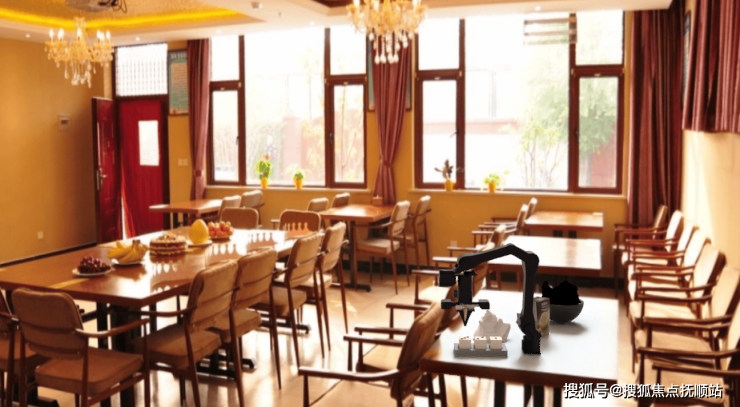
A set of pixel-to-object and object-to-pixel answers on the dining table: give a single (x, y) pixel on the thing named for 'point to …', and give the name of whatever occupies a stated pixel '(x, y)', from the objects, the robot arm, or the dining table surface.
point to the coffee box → (542, 314)
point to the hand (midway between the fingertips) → (465, 325)
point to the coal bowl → (563, 301)
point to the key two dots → (480, 342)
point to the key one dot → (495, 343)
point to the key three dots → (464, 342)
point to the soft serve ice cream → (492, 327)
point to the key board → (481, 351)
